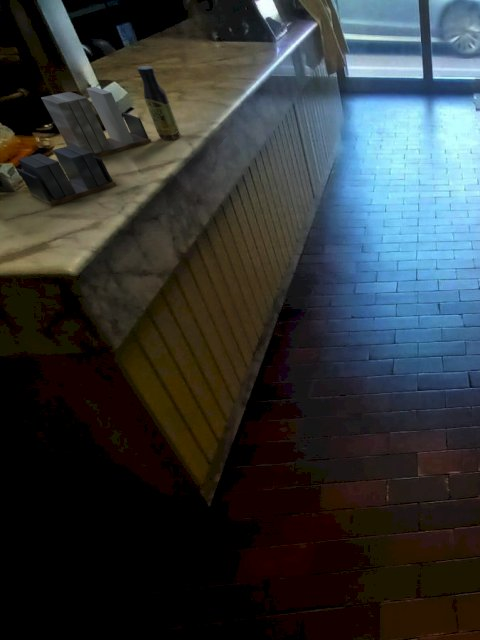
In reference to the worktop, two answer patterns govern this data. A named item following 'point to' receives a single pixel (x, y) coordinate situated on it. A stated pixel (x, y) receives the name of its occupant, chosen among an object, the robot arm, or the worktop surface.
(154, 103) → the sauce bottle
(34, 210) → the worktop surface
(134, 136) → the grey book stand
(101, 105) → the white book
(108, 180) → the grey book rack
